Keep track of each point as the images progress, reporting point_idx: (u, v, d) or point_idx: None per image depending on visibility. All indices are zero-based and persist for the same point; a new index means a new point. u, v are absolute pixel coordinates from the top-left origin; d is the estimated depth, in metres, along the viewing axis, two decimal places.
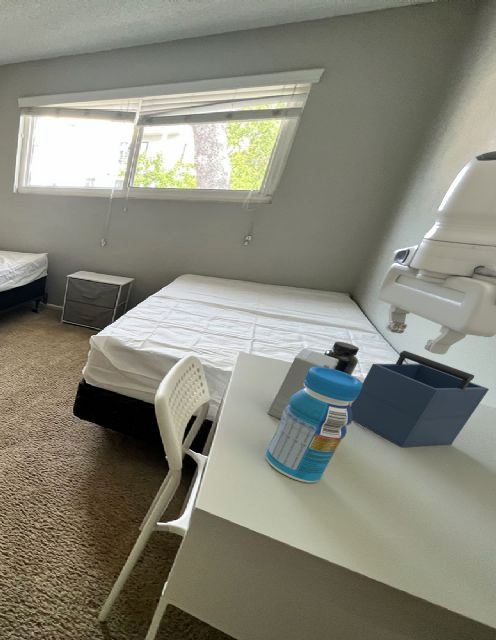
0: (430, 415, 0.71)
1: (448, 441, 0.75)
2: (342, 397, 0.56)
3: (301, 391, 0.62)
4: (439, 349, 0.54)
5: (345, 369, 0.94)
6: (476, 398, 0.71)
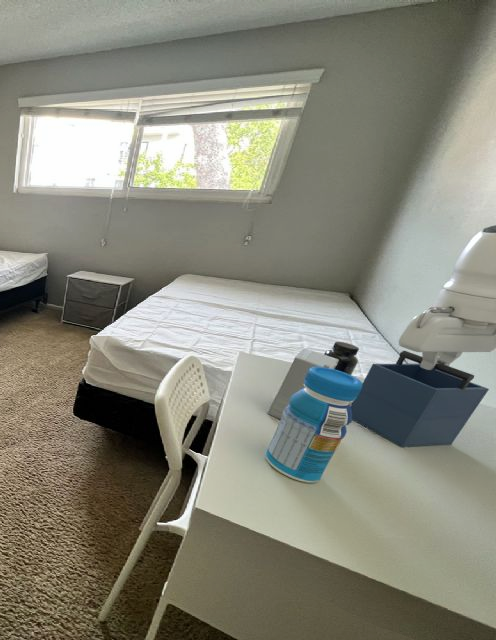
0: (430, 415, 0.71)
1: (448, 441, 0.75)
2: (341, 397, 0.56)
3: (301, 391, 0.62)
4: (425, 365, 0.73)
5: (345, 369, 0.94)
6: (476, 398, 0.71)
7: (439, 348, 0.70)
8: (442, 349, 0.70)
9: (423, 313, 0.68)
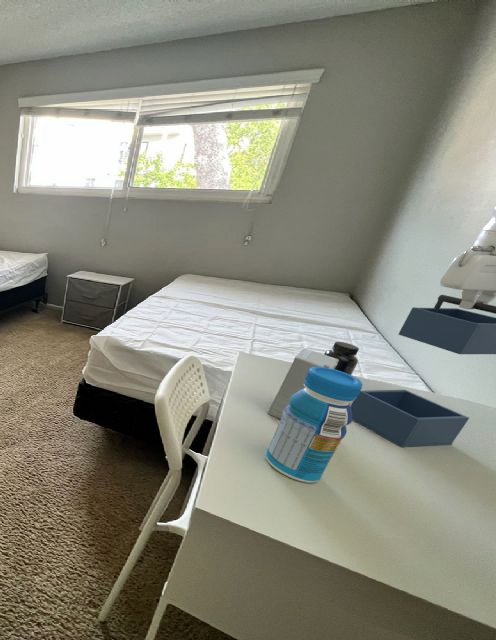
0: (470, 350, 0.75)
1: (448, 441, 0.75)
2: (341, 397, 0.56)
3: (301, 391, 0.62)
4: (465, 305, 0.78)
5: (345, 369, 0.94)
6: None
7: (479, 286, 0.74)
8: (482, 287, 0.74)
9: (465, 252, 0.72)
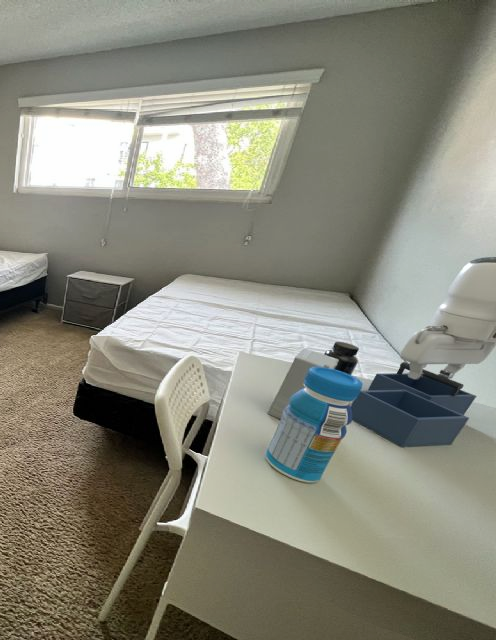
0: None
1: (448, 441, 0.75)
2: (341, 397, 0.56)
3: (301, 391, 0.62)
4: (412, 375, 0.85)
5: (345, 369, 0.94)
6: (465, 404, 0.83)
7: (434, 361, 0.81)
8: (437, 362, 0.81)
9: (421, 331, 0.80)
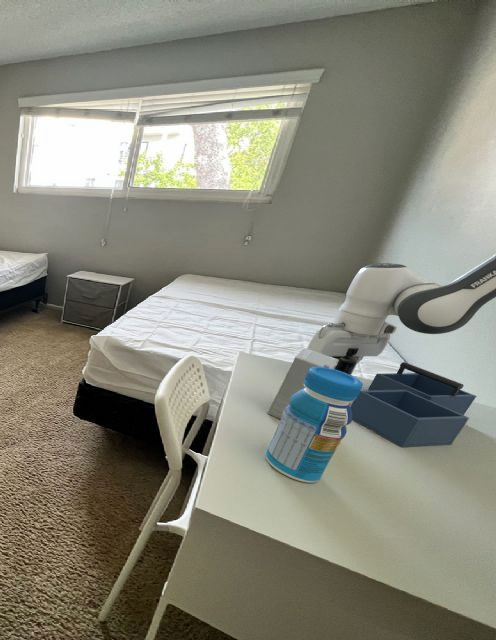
0: None
1: (448, 441, 0.75)
2: (341, 397, 0.56)
3: (301, 391, 0.62)
4: None
5: (345, 369, 0.94)
6: (465, 404, 0.83)
7: (335, 353, 0.93)
8: (338, 354, 0.93)
9: (322, 327, 0.92)
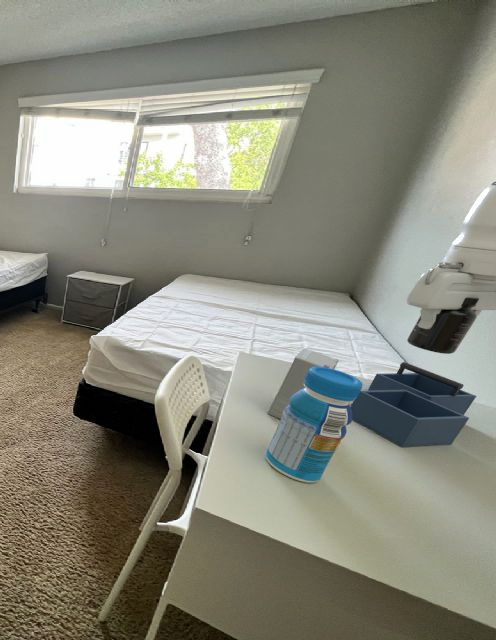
0: None
1: (448, 441, 0.75)
2: (341, 397, 0.56)
3: (301, 391, 0.62)
4: (423, 324, 0.72)
5: (459, 326, 0.70)
6: (465, 404, 0.83)
7: (448, 305, 0.69)
8: (451, 306, 0.69)
9: (432, 269, 0.68)
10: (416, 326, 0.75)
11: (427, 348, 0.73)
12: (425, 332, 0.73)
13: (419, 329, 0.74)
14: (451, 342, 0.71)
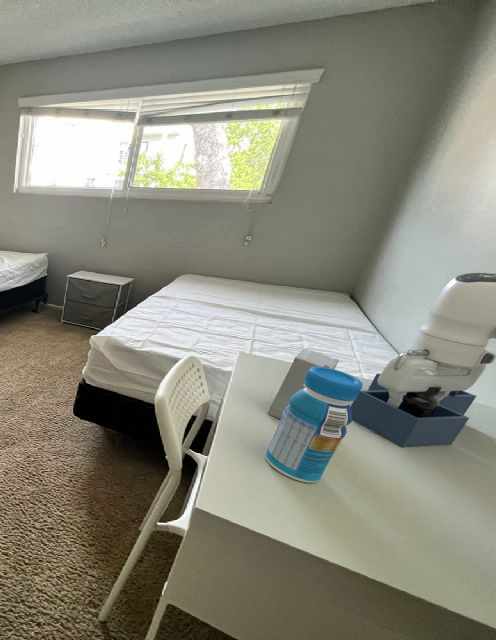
0: None
1: (448, 441, 0.75)
2: (341, 397, 0.56)
3: (301, 391, 0.62)
4: (391, 403, 0.76)
5: (423, 413, 0.74)
6: (465, 404, 0.83)
7: (415, 389, 0.73)
8: (418, 389, 0.73)
9: (400, 356, 0.71)
10: None
11: None
12: None
13: None
14: None
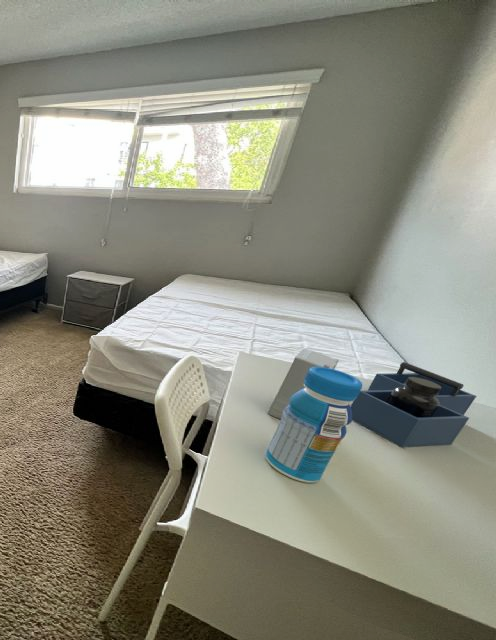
0: None
1: (448, 441, 0.75)
2: (341, 397, 0.56)
3: (301, 391, 0.62)
4: None
5: (423, 413, 0.74)
6: (465, 404, 0.83)
7: None
8: None
9: None
10: None
11: None
12: None
13: None
14: None
